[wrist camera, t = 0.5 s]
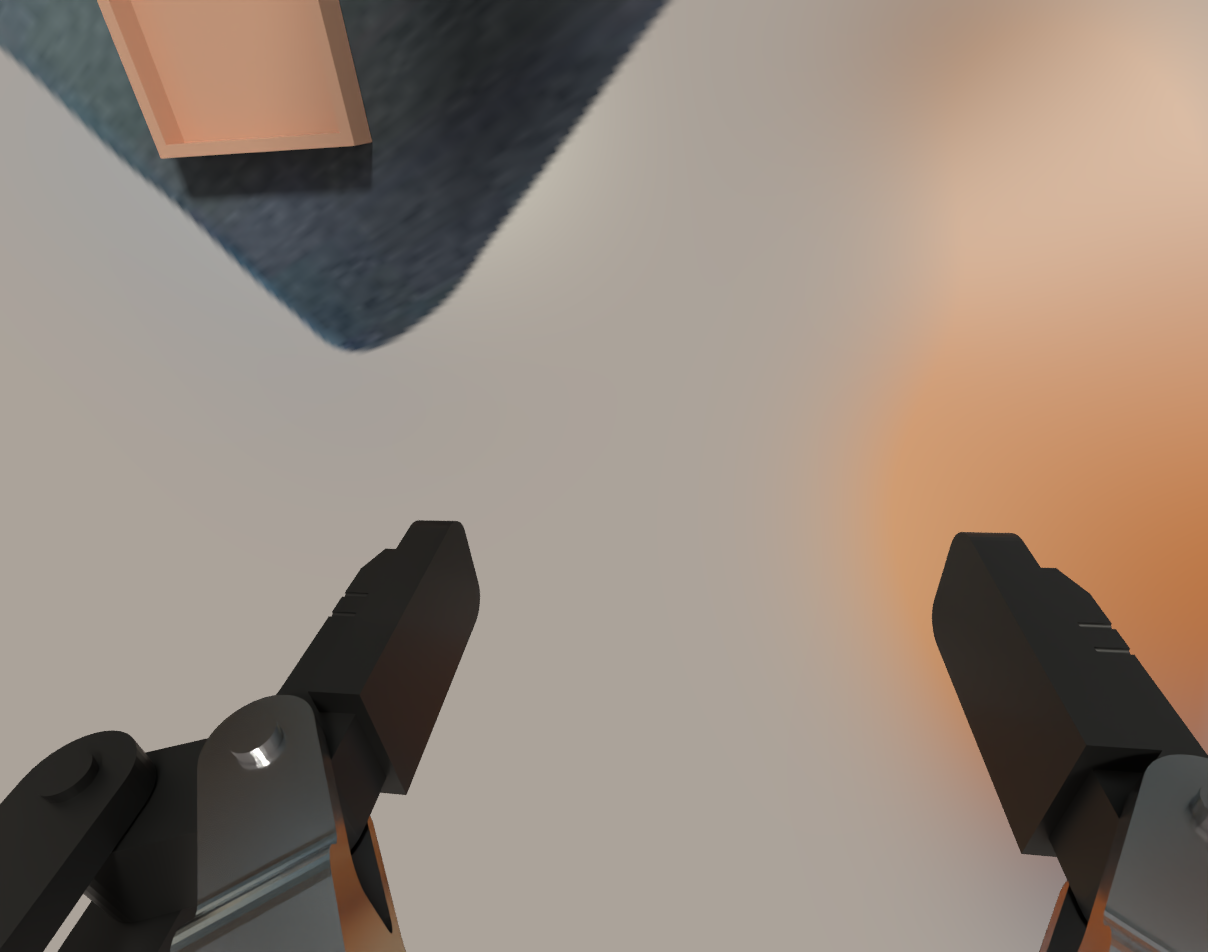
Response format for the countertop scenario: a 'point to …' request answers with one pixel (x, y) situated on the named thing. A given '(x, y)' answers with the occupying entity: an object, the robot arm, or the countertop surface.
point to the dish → (240, 74)
